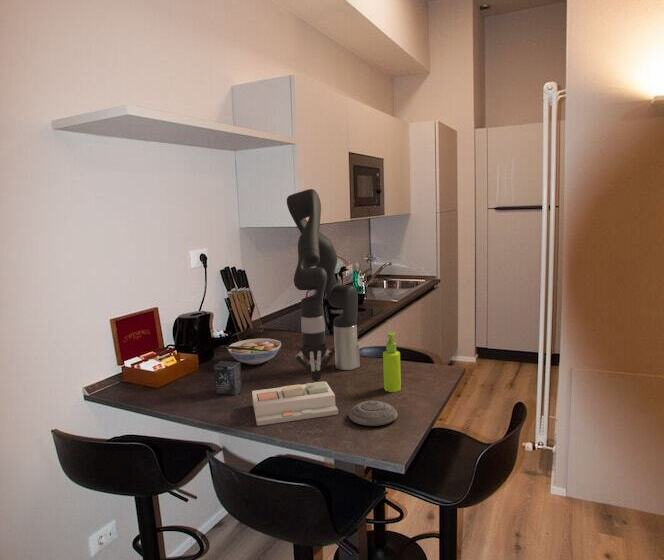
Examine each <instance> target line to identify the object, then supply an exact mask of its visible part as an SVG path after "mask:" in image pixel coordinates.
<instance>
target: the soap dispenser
mask: <svg viewBox="0 0 664 560" xmlns="http://www.w3.org/2000/svg"><path fill="white" fill-rule="evenodd" d="M396 333H397V332H396V331H388V333H387V334H386V335H387V336H386V337H388V341H387V342H385V346H386V348H385V349H386V351H383V352H382V365H383V371H382V372H383V390H384V391H385V392H388V393H397V392H399V391H401V390H402V381H401V380H402V376H401V375H402V374H401V352H400V351H398V350H397V342H395V341H394V336H395V334H396Z"/></svg>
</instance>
